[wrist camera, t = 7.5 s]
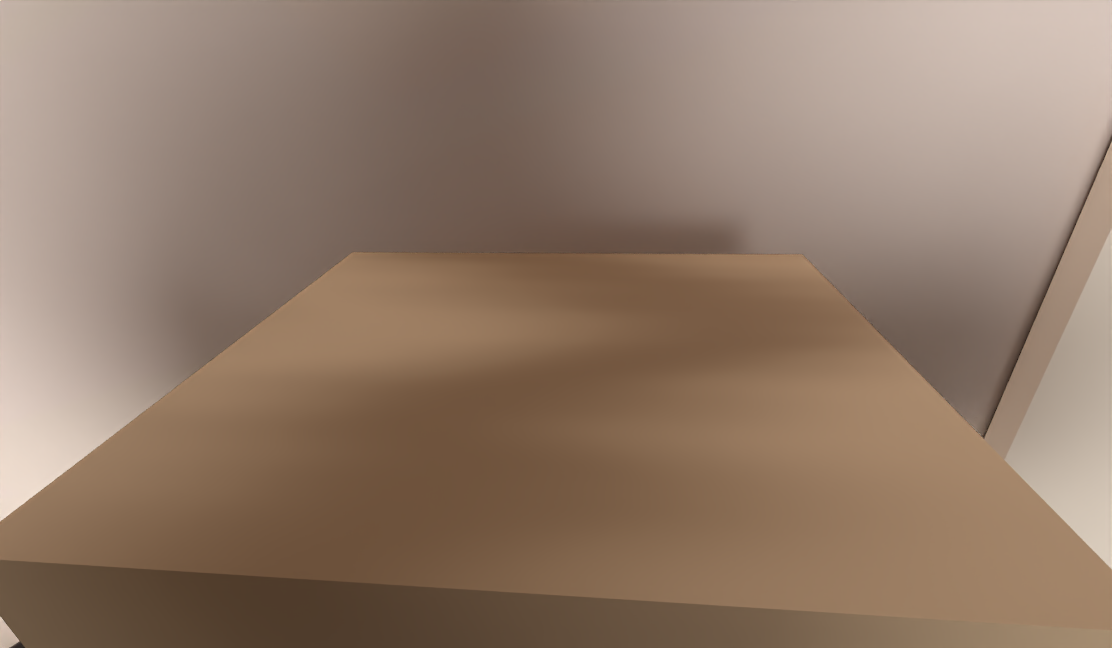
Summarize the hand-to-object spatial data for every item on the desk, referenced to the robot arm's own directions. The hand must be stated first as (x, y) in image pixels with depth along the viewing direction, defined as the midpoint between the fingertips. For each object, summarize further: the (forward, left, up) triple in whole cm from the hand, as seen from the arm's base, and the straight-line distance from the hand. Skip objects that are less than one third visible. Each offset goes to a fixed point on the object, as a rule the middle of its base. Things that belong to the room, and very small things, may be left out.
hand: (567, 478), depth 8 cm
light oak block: (0, 0, -1) cm, 1 cm away
